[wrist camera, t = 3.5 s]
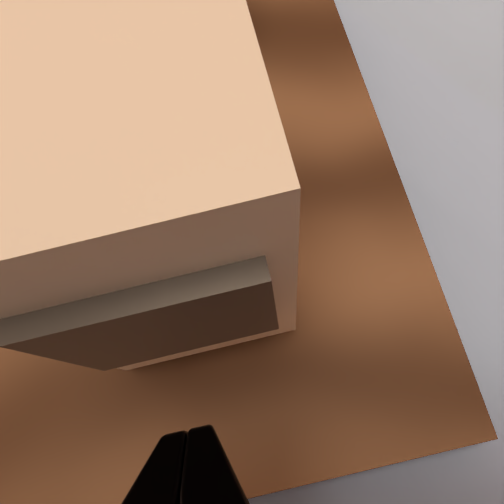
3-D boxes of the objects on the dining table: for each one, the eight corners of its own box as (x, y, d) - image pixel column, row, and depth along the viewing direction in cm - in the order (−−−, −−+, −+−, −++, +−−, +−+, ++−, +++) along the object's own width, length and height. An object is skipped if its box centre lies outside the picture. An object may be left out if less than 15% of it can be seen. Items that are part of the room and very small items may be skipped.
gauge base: (476, 436, 14) (665, 458, 7) (-48, 562, 14) (-392, 711, 7) (315, -10, 20) (328, -242, 13) (-52, 79, 20) (-239, -103, 13)
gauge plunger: (299, 343, 13) (310, 221, 5) (8, 413, 13) (-477, 410, 5) (263, 206, 15) (225, -71, 6) (1, 269, 15) (-383, 78, 6)
